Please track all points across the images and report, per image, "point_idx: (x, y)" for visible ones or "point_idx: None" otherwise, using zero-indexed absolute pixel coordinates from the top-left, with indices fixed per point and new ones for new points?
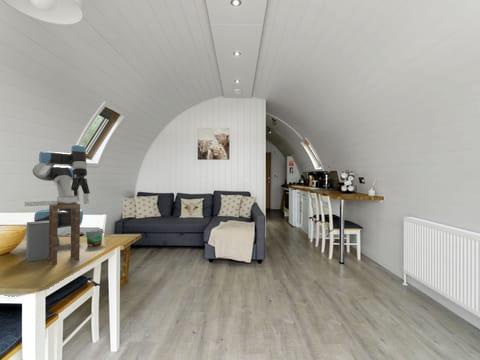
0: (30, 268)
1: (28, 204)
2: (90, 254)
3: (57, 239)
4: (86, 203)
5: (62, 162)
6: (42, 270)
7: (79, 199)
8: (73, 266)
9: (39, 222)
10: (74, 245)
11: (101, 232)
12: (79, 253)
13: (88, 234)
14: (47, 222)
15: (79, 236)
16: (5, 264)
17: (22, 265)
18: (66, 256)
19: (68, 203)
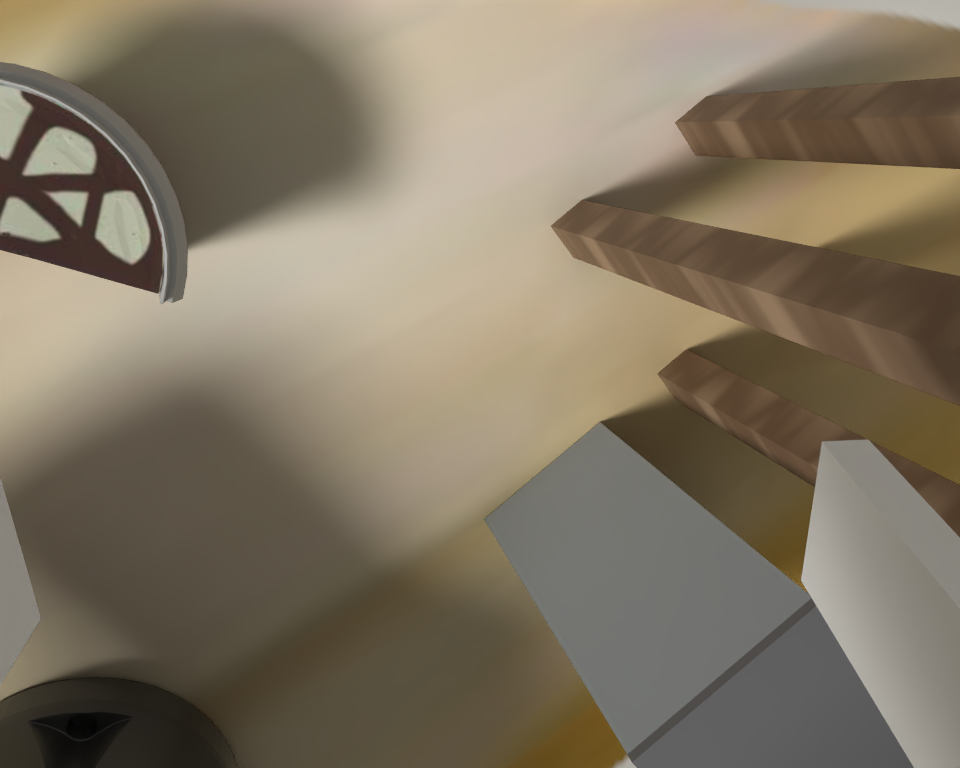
0: (879, 400)
1: None
2: (525, 55)
3: (43, 740)
4: (14, 544)
5: None
6: (948, 271)
7: (850, 470)
8: (906, 51)
9: (816, 758)
10: (784, 155)
11: (26, 72)
12: (740, 94)
13: (184, 253)
14: (833, 652)
15: (873, 86)
16: None
17: (790, 516)
18: (574, 297)
19: None
